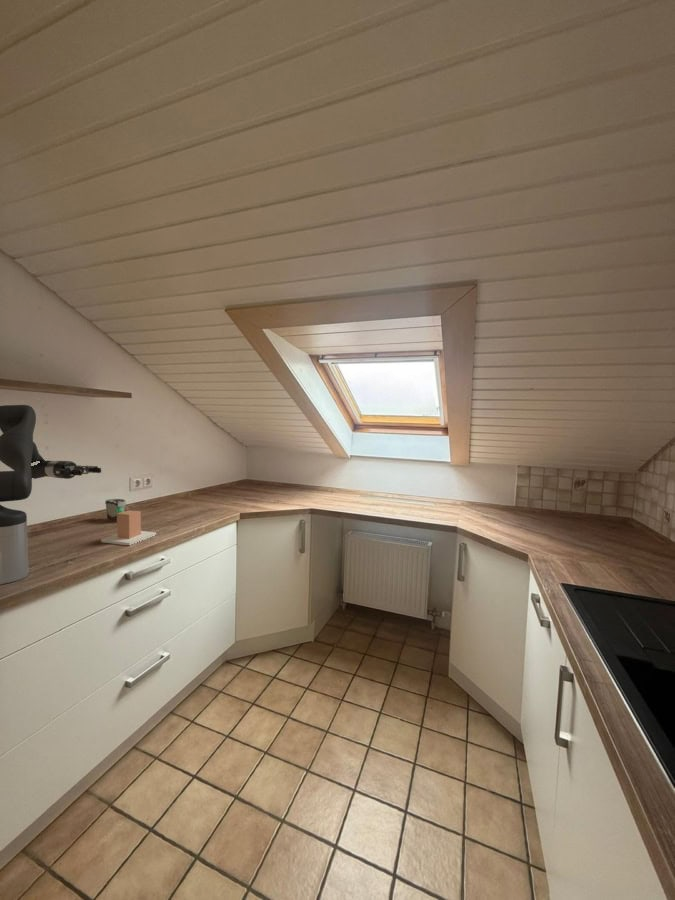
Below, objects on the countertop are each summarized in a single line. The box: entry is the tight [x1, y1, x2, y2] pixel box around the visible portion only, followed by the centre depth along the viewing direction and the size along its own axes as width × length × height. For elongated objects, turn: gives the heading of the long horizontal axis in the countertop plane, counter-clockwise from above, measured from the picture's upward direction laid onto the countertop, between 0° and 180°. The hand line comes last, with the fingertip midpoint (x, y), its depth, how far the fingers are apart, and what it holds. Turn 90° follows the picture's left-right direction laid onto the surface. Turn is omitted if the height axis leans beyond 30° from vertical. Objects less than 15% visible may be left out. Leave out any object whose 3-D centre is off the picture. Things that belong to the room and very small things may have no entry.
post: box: [100, 530, 157, 546], centre depth 144 cm, size 14×14×8 cm
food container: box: [104, 498, 127, 523], centre depth 171 cm, size 12×6×10 cm, turn 59°
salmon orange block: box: [116, 509, 142, 539], centre depth 144 cm, size 6×6×10 cm
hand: (91, 471), depth 143 cm, fingers open, 8 cm apart
